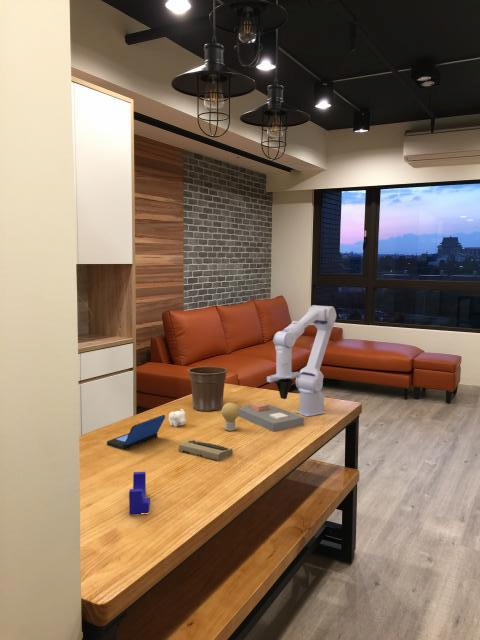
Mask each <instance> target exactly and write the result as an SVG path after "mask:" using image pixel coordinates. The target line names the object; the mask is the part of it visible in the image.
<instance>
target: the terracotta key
mask: <svg viewBox="0 0 480 640" xmlns="http://www.w3.org/2000/svg"><path fill="white" fill-rule="evenodd" d="M265 403H266V402H263V401H260V402H254V403H251V405H250V406H251V409H253V410H256V411H258V412H260V411H265V410H269V405H270V404H269V403H267V404H265ZM268 404H269V405H268Z"/></svg>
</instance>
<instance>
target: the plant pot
mask: <svg viewBox="0 0 480 640" xmlns="http://www.w3.org/2000/svg"><path fill="white" fill-rule="evenodd" d="M187 372H188V373H189V380H190V383H191V384H190V385H191V394H192V395H191V398H192V408H193V409H195V410H196V411H200V412H212V411H219V410H222V407H223V406H224V404H223V403H224V391H225V382H226V380H227V379H226V378H227V372H228V369H227V368H226V367H220V366H211V365H210V366H197V367H195V366H194V367H192V368H189V369H187Z"/></svg>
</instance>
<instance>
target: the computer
mask: <svg viewBox="0 0 480 640" xmlns="http://www.w3.org/2000/svg"><path fill="white" fill-rule="evenodd" d="M178 452H179V453H182V454H183V453H187V454H189V455H191V456H195V457H199V458H201V459H202V458H204V459H208V460H212V461H216V462H217V463H218V462H221V461H223V460H225V459H227V458H228V457H230V456H232V455H233V453H234V450H233V448H229V447H226V446H221V445H218V444H215V443H210V442H204V441H199V440H195V439H190V440H186V441H183V442H181V443H179V446H178Z"/></svg>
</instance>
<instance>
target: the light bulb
mask: <svg viewBox="0 0 480 640" xmlns="http://www.w3.org/2000/svg"><path fill="white" fill-rule="evenodd" d="M239 408H240V407H239V406H238V405H237V404H236V403H234V402H227V403H225V404H223V405H222V408H221V416H222V417H223V418H224V420H225V421H224V429H225V430H226V431H229V432H233V431H235V430H236V420H237V418H238V417H239V416H238V415H239Z"/></svg>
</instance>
